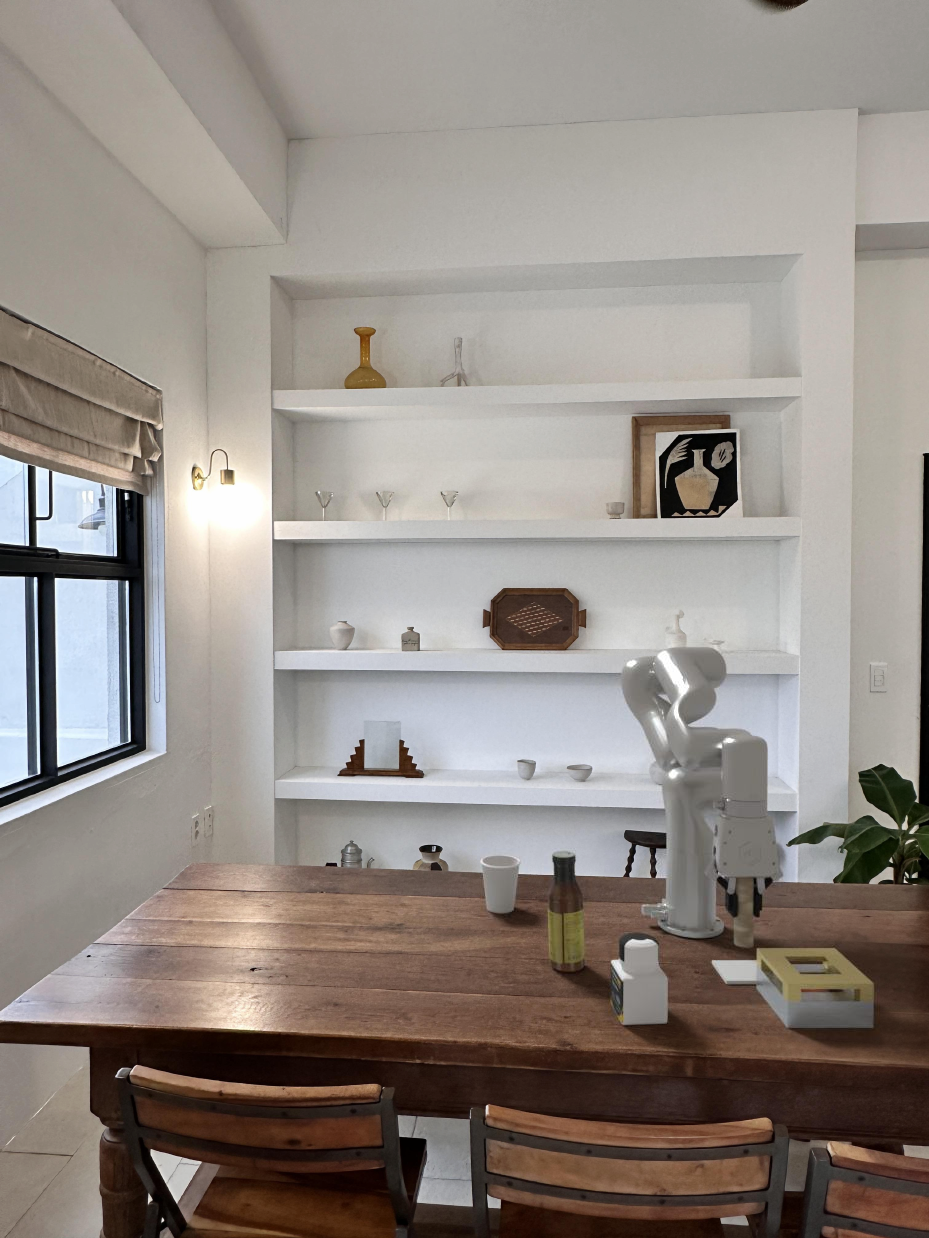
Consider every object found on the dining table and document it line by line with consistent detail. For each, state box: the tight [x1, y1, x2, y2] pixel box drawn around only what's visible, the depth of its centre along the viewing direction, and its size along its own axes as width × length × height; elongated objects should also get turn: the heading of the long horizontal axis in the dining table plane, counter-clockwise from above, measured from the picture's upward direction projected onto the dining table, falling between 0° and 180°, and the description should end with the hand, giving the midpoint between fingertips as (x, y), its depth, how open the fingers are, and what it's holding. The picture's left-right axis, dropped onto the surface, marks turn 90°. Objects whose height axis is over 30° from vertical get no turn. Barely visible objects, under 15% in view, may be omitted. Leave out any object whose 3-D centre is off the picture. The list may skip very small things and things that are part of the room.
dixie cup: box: [479, 854, 521, 914], centre depth 176 cm, size 8×8×10 cm
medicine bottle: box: [609, 931, 669, 1026], centre depth 131 cm, size 7×7×12 cm
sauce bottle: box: [547, 850, 586, 973], centre depth 148 cm, size 6×6×20 cm
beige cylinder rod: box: [733, 878, 755, 949], centre depth 145 cm, size 3×3×15 cm
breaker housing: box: [755, 947, 875, 1029], centre depth 133 cm, size 13×13×7 cm
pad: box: [711, 959, 757, 985], centre depth 145 cm, size 8×8×1 cm
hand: (743, 913), depth 145 cm, fingers closed on beige cylinder rod, 3 cm apart
